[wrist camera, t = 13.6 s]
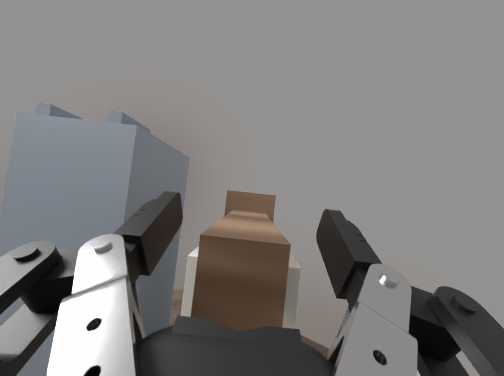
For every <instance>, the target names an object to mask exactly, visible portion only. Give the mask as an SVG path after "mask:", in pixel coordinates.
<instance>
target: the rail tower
mask: <svg viewBox="0 0 504 376" xmlns="http://www.w3.org/2000/svg"><path fill="white" fill-rule="evenodd" d="M188 166H189V157H188V156H186V155H185V154H183V153H181V152H180V151H178V150H176V149H175V148H173V147H171V146H170V145H168V144H167V143H165V142H163V141H161V140H160V139H158V138H157V137H155V136H153V135H152V134H150V130H149V129H148V128H146V127H144V126H143V125H141V124H140V123H139V122H137V121H135V120H134V119H132V118H131V117H129V116H127V115H126V114H124V113H123V112H116V111H108V115H107V122H101V121H91V120H84V119H82V118H80V117H78V116H75V115H73V114H71V113H69V112H66V111H64V110H62V109H60V108H57V107H55V106H53V105H51V104H42V103H37V104H36V110H35V114H28V113H18V112H17V113H16V118H15V125H14V131H13V137H12V143H11V149H10V155H9V162H8V167H7V173H6V179H5V186H4V192H3V198H2V204H1V210H0V257H2V256H3V255H5V254H6V253H8V252H9V251H11V250H13V249H15V248H17V247H19V246H22V245H25V244H28V243H31V242H36V241H51V242H53V243H54V244H55V246H56V248H57V250H58V251H60V250H69V249H77V248H81V247H82V246H83V245H84V244H85V243H86V242H88V241H89V240H91V239H93V238H96V237H98V236H101V235H106V234H113V233H114V232H115V231H116V230H117V229H118V228H119V227H120V226H122V225H123V224H124V223H125V222H126V221H127V220H128V219H129V218H130V217H131V216H133V214H134V213H135V212H136V211H138V210H139V208H141V207H142V206H143V205H144V204H145V203H147V202H149V201H151V200H153V199H157V198H158V197H159V196H160V195H161V194H162V193H163V192H164V191H170V192H179V193H180V195H181V202H182V213H183V206H184V198H185V189H186V182H187V174H188ZM180 230H181V226H180V228H179V230H178V231H177V233H176V234H175V236H174V238H173V239H172V241H171V243H170V244H169V246H168V247H167V249H166V251H165V252H164V254H163V256H162V257H161V259H160V261H159V262H158V264H157V265H156V267H155V269H154V270H153V272H152V274H151V275H150V276H144V275H140V276H139V277H138V279H137V280H136V284H137V290H138V297H139V303H140V310H141V316H142V322H143V327H144V331H145V336H148V335H150V334H152V333H153V332H156V331H158V330H160V329H163V328H167V327H168V326H169V318H170V310H171V302H172V294H173V286H174V277H175V269H176V262H177V254H178V245H179V238H180ZM24 304H25V303H24V302H23V301H22V299H21V298H20V297H19V298H18V299H17V300H16V301H15V302H14V303H13V304H12V305H11V306H9V307H8V308H7V309H6V310H5V311H4V312H3V313H2V314H1V315H0V327H1V326H2V325H3V324H4V323H5V322H6V321H7V320H8V319H9V318H10V317H11V316H12V315H13V314H14V313H15V312H16V311H17V310H18V309H20V308H21V307H22V306H23V305H24ZM55 330H56V328H55V329H54V330H53V331H52V333H51V334H50V335H49V336H48V337H47V339H46V340H45V341H44V342H43V344H42V345H41V346H40V347H39V348H38V350H37V351H36V352H35V353H34V354H33V356H32V357H31V358H30V359H29V361H28V362H27V363H26V364H25V365H24V367H23V368H22V369H21V370H20V372H19V373H18V374H17V375H16V376H47V372H48V367H49V362H50V356H51V351H52V346H53V341H54V335H55Z"/></svg>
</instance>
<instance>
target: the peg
mask: <svg viewBox="0 0 504 376" xmlns="http://www.w3.org/2000/svg"><path fill="white" fill-rule="evenodd" d="M275 197H276V196H273V195H264V194H254V193H246V192H237V191H227V198H226V207H225V216H224V217H223V218H222V219H220V220H219V221H218V222H216V223H215V224H214V225H213V226H211V227H210V228H209V229H207V230H206V231H205V232H203V233H202V234H201V235H200V242H199V250H198V259H197V267H196V275H195V284H194V292H193V300H192V309H191V317H196V318H205V319H209V320H211V321H214V322H216V323H218V324H220V325H223V326H225V327H227V328H230V329H232V330H234V331H245V330H250V329H255V328H261V327H266V326H275V327H282V326H283V316H284V306H285V296H286V286H287V276H288V266H289V256H290V246H291V245H290V243H289V242H288V241H287V240H286V238H285V237H284V236H283V235H282V233H281V232H280V231H279V230H278V228H277V227H276V226H275V224H274V223H273V216H274V207H275Z"/></svg>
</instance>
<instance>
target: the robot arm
mask: <svg viewBox="0 0 504 376" xmlns="http://www.w3.org/2000/svg"><path fill="white" fill-rule="evenodd" d="M182 219H183V213H182V202H181V195H180V193H179V192H170V191H164V192H163V193H162V194H161V195H160V196H159V197H158V198H157V199H153V200H151V201H149V202H147V203H145V204H144V205H143V206H142V207H141V208H139V210H138V211H136V212H135V213H134V214H133V216H131V217H130V218H129V219H128V220H127V221H126V222H125V223H124V224H123V225H122V226H120V227H119V228H118V229H117V230H116V231H115V232H114V233H113V234H106V235H101V236H98V237H96V238H93V239H91V240H89V241H88V242H86V243H85V244H84V245H83V246H82V247H81V248H77V249H69V250H60V251H58V250H57V248H56V246H55V244H54V243H53V242H51V241H36V242H31V243H28V244H25V245H22V246H19V247H17V248H15V249H13V250H11V251H9V252H8V253H6V254H5V255H3V256H2V257H0V315H1V314H2V313H3V312H4V311H5V310H6V309H7V308H8V307H9V306H11V305H12V304H13V303H14V302H15V301H16V300H17V299H18V298H19V297H20V298H21V299H22V301H23V302H24V303H25V304H24V305H23V306H22V307H21V308H20V309H18V310H17V311H16V312H15V313H14V314H13V315H12V316H11V317H10V318H9V319H8V320H7V321H6V322H5V323H4V324H3V325H2V326H1V327H0V376H16V375H17V374H18V373H19V372H20V370H21V369H22V368H23V367H24V365H25V364H26V363H27V362H28V361H29V359H30V358H31V357H32V356H33V354H34V353H35V352H36V351H37V350H38V348H39V347H40V346H41V345H42V344H43V342H44V341H45V340H46V339H47V337H48V336H49V335H50V334H51V333H52V331H53V330H54V329H55V328H56V330H55V335H54V341H53V346H52V351H51V356H50V362H49V367H48V372H47V376H417V370H418V372H419V374H420V376H469V375H468V373H467V372H466V370H465V369H464V368H463V366H462V365H461V363H460V362H459V360H458V359H457V357H456V356H455V355H456V354H457V353H458V352H460V351H461V350H462V351H463V353H464V354H465V355H466V357H467V358H468V360H469V361H470V362H471V364H472V365H473V367H474V368H475V369H476V370H477V372H478V373H479V375H480V376H504V329H503V328H502V327H501V325H500V324H499V323H498V322H497V321H496V320H495V319H494V318H493V317H492V316H491V315H490V314H489V313H488V312H487V311H486V310H485V309H484V308H483V307H482V306H481V305H480V304H479V303H478V302H476V301H475V300H474V299H472V298H471V297H469V296H468V295H466V294H464V293H463V292H461V291H458V290H456V289H453V288H450V287H445V286H443V287H439V288H438V289H437V290H436V291H435V292H434V293H433V294H432V293H429V292H426V291H424V290H421V289H418V288H415V287H412V286H410V284H409V282H408V281H407V280H406V279H405V277H404V276H403V275H401V274H400V273H399V272H398V271H396V270H394V269H393V268H391V267H389V266H386V265H383V264H382V263H381V261H380V260H379V258H378V257H377V255H376V254H375V252H374V251H373V250H372V248H371V247H370V245H369V244H368V243H367V242H366V239H365V238H364V237H363V236H362V233H361V232H360V231H359V229H358V228H357V227H356V226H355V225H354V224H353V223H351V222H350V221H347V220H346V219H345V217H344V216H343V214H342V213H341V211H337V210H329V209H325V210H324V212H323V215H322V217H321V221H320V223H319V227H318V230H317V234H316V235H317V236H316V238H317V244H318V247H319V249H320V252H321V255H322V258H323V261H324V263H325V266H326V269H327V272H328V275H329V278H330V281H331V284H332V286H333V289H334V292H335V295H336V298H340V299H347V302H348V304H349V305H348V306H347V308H346V311H345V313H344V316H343V319H342V321H341V323H340V326H339V329H338V331H337V333H336V336H335V339H334V341H333V344H332V346H331V348H330V350H329V352H328V354H327V356H326V357H325V356H324V355H323V354H321V353H320V352H319V351H318V350H316V349H315V348H314V347H312V346H311V345H309V344H307V343H305V342H303V341H301V337H300V330H299V329H292V328H283V327H275V326H266V327H261V328H255V329H250V330H245V331H234V330H232V329H230V328H227V327H225V326H223V325H220V324H218V323H216V322H214V321H211V320H209V319H205V318H196V317H187V316H179V315H177V318H176V320H175V323H174V326H170V327H167V328H163V329H160V330H158V331H156V332H153V333H152V334H150V335H148V336H145V331H144V327H143V322H142V316H141V310H140V303H139V297H138V290H137V284H136V280H137V279H138V277H139V276H140V275H144V276H150V275H151V274H152V272H153V270H154V269H155V267H156V265H157V264H158V262H159V261H160V259H161V257H162V256H163V254H164V252H165V251H166V249H167V247H168V246H169V244H170V243H171V241H172V239H173V238H174V236H175V234H176V233H177V231H178V230H179V228H180V226H181V223H182Z"/></svg>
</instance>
